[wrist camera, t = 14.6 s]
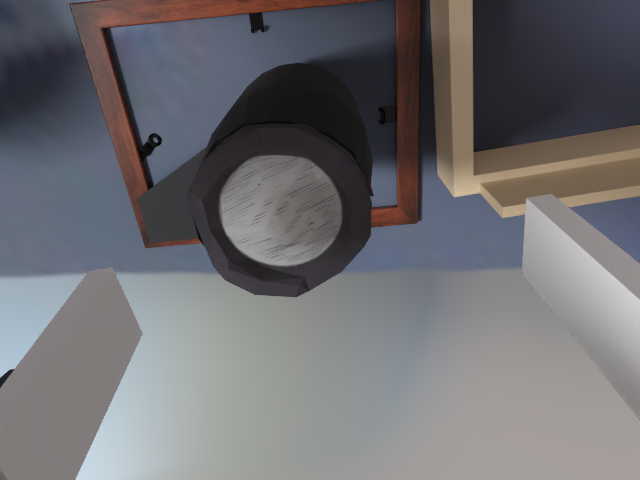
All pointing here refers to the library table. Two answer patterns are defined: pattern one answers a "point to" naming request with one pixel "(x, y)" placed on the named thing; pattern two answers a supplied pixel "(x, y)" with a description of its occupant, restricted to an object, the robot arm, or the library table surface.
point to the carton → (525, 159)
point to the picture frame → (172, 192)
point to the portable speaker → (285, 184)
